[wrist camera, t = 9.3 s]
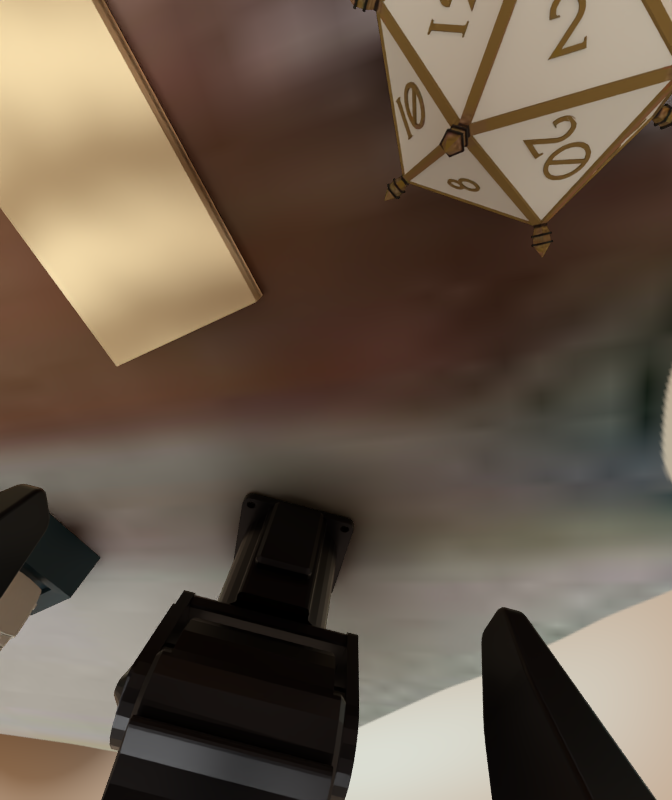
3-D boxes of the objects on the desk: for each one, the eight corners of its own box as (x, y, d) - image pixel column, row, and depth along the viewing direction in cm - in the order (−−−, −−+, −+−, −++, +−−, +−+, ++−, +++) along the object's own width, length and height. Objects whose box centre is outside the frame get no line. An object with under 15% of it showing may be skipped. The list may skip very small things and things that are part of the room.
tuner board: (262, 295, 19) (256, 301, 18) (128, 358, 22) (116, 366, 21) (-48, -282, 12) (-81, -316, 11) (-196, -95, 15) (-233, -110, 14)
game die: (529, 88, 18) (840, 118, 11) (379, 241, 18) (585, 359, 12) (462, -251, 11) (1141, -702, 4) (232, 7, 12) (511, -37, 5)
